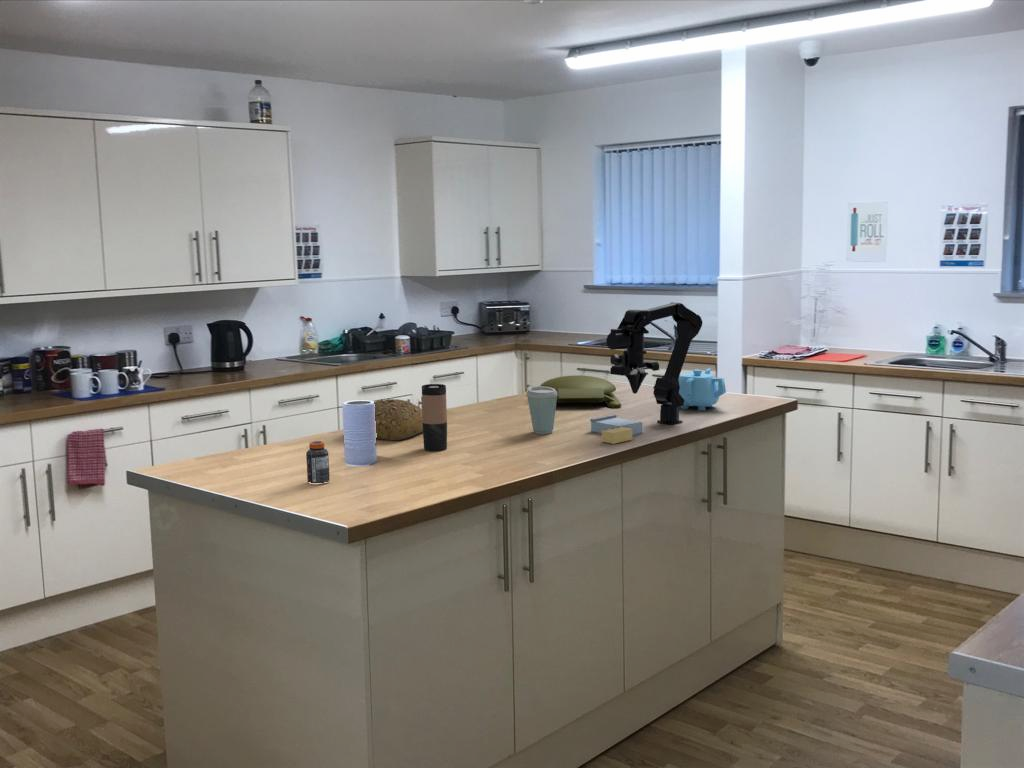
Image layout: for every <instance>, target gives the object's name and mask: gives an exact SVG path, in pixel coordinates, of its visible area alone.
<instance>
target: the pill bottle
mask: <svg viewBox="0 0 1024 768" xmlns="http://www.w3.org/2000/svg"><path fill="white" fill-rule="evenodd" d="M325 447H326V446H325V442H324V441H322V440H316V441H315V440H314V441H310V442H309V449H308V450H307V451H306V454H305V455H306V457H305V458H306V473H307V474H306V475H307V483H308V482H311V483H324V482H328V481H329V480H331V479H330V459H329V451H328V449H326V448H325ZM329 482H330V481H329ZM329 482H328V483H329Z"/></svg>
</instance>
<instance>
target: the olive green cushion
mask: <svg viewBox="0 0 1024 768" xmlns="http://www.w3.org/2000/svg"><path fill="white" fill-rule="evenodd" d="M539 386H544V387H550V388H553V389H555V390H556V391H557V394H558V395H557V402H558V404H563V403H564V404H567V403H568V404H571V403H573V404H575V403H576V404H578V403H604V402H605V404H606V405H607V407H609V408H610V409H619V408H621V407H622V403H621V402H620V400H619V399H618V398H617V396H616V395H615V394H614V392H616V390H617V389H616V386H615V384H613V383H612V382H611V381H609V380H606V379H605V378H600V377H597V376H592V375H565V376H564V375H563V376H557V377H553V378H551V379H548V380H545V381H543V382H542V383H541V384H540V385H539Z"/></svg>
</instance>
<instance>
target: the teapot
mask: <svg viewBox="0 0 1024 768" xmlns="http://www.w3.org/2000/svg"><path fill="white" fill-rule="evenodd" d="M711 370H712V368H711V367H708V368H707V369H705V371H704V373H702V369H693V370H692V372H688V373H684V374H680V375H679V379H678V380H679V385H680V389H679V394H680V395H681V396H682V398H683V399H684V400H685V401H684V404H683V406H680V409H681V410H682V409H683V410H688V409H689V407H697V410H698V411H700V410H705V411H707V409H706V408H707V407H712V408H714V407H713V405H716V404H717V403H718V401H719V399H720V397H721V396H722V395H724V394H725V393H727V389H726V383H725V378H724V377H716V376H715V374H711Z"/></svg>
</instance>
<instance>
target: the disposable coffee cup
mask: <svg viewBox="0 0 1024 768" xmlns="http://www.w3.org/2000/svg"><path fill="white" fill-rule="evenodd" d="M557 395H558V394H557V391H556V390H555V389H553V388H550V387H544V386H540V385H537V386H531V387H528V388H527V391H526V395H525V396H526V397H527V401H528V403H527V404H528V408H529V414H530V419H531V424H532V431H533V433H534V434H536V435H537V434H538V435H547V434H551V433H553V430H554V428H555V427H554V425H555V417H556V408H557V402H558V401H557Z"/></svg>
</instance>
